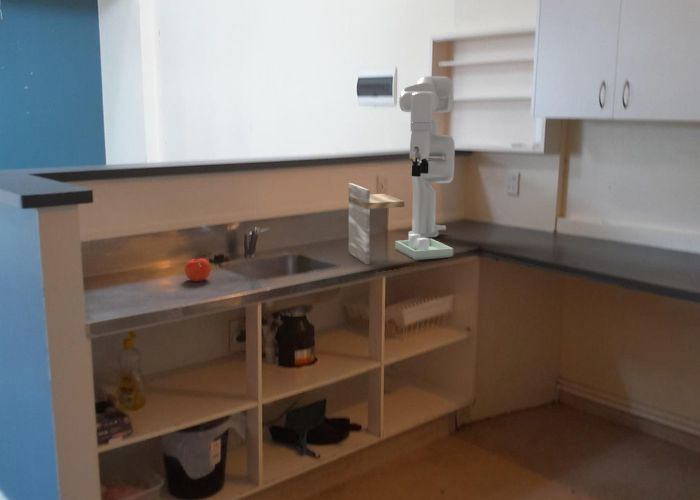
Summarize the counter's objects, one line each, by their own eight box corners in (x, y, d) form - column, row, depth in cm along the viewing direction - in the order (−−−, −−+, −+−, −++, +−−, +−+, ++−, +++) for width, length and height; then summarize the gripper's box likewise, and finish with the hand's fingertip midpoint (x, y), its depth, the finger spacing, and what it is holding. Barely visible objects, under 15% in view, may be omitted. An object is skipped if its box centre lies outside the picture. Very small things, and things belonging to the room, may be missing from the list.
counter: (383, 250, 270) (384, 181, 265) (403, 261, 252) (404, 188, 246) (348, 252, 266) (348, 183, 260) (366, 264, 247) (366, 190, 242)
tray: (431, 246, 276) (431, 238, 275) (452, 257, 258) (453, 248, 257) (395, 249, 271) (395, 241, 270) (414, 260, 253) (414, 251, 253)
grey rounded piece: (417, 247, 270) (417, 233, 269) (421, 249, 266) (422, 235, 265) (406, 248, 269) (406, 234, 268) (411, 250, 265) (411, 236, 264)
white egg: (425, 251, 263) (426, 237, 262) (430, 254, 259) (431, 239, 257) (414, 252, 261) (415, 238, 260) (419, 255, 257) (419, 240, 256)
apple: (213, 282, 224) (212, 257, 223) (187, 284, 221) (186, 259, 220) (208, 276, 232) (206, 252, 230) (183, 278, 228) (181, 254, 227)
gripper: (418, 125, 264) (417, 171, 268) (403, 128, 249) (402, 177, 253) (437, 126, 262) (436, 172, 265) (424, 128, 246) (423, 178, 250)
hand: (420, 174), depth 259 cm, fingers open, 9 cm apart
